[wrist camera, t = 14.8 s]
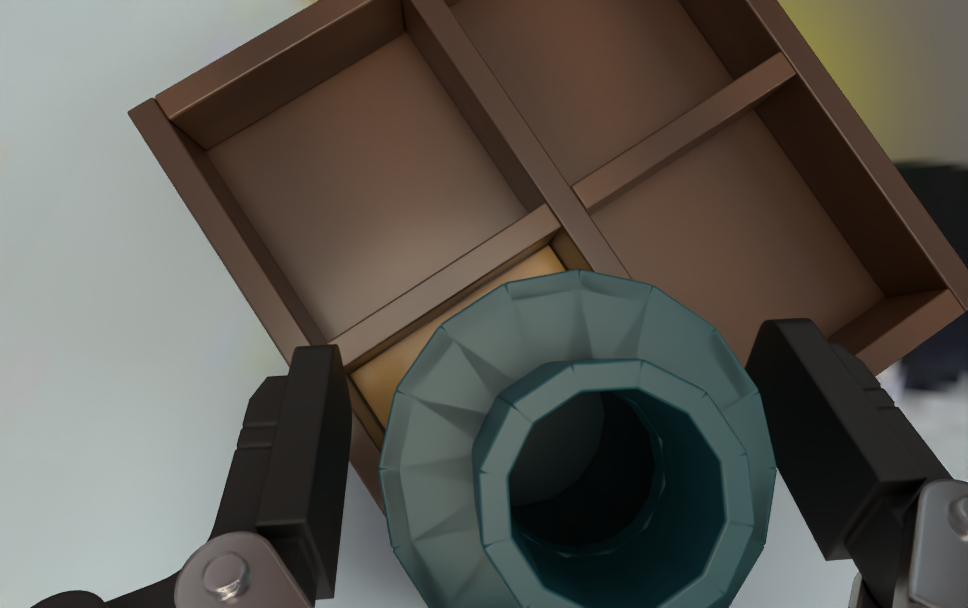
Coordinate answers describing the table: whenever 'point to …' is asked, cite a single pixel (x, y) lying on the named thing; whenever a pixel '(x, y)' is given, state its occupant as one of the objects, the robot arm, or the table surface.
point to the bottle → (577, 453)
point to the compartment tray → (543, 177)
